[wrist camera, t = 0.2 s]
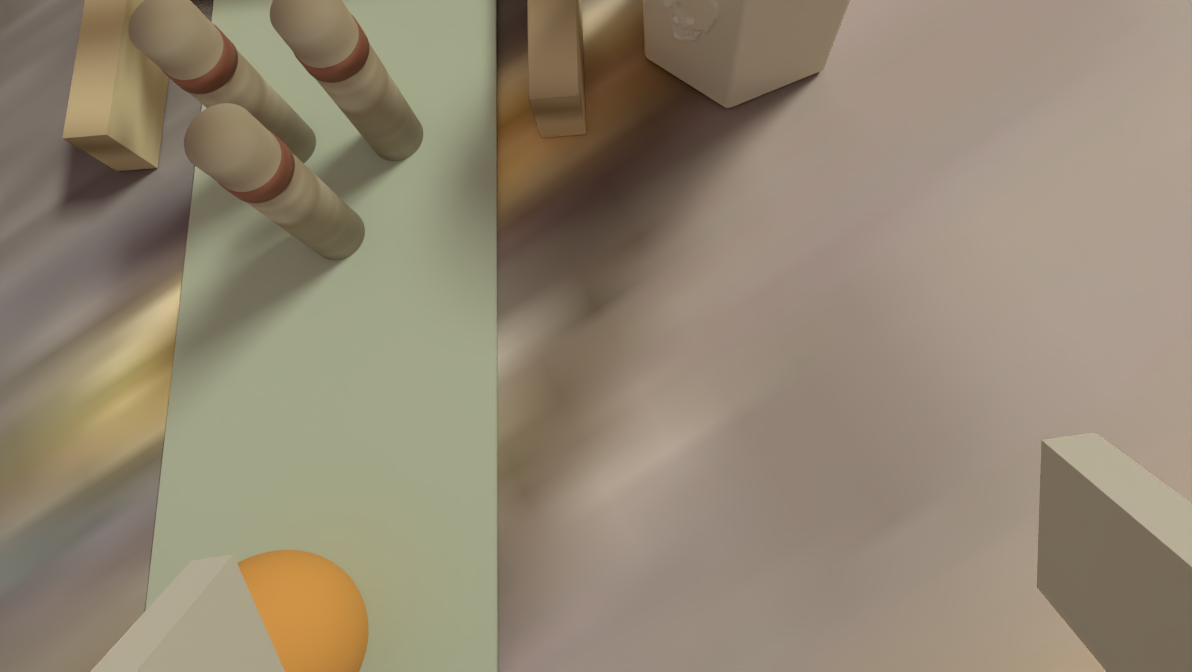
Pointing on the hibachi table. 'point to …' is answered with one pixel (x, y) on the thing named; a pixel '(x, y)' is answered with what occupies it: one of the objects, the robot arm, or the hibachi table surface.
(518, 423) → the hibachi table surface
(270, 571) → the ball
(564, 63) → the backstop
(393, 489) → the pale green board
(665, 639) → the hibachi table surface
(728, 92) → the jar
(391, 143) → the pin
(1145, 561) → the robot arm
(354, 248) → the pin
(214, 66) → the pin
